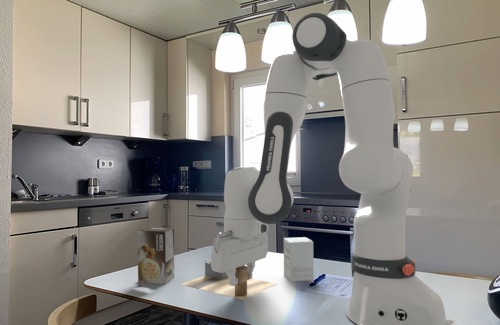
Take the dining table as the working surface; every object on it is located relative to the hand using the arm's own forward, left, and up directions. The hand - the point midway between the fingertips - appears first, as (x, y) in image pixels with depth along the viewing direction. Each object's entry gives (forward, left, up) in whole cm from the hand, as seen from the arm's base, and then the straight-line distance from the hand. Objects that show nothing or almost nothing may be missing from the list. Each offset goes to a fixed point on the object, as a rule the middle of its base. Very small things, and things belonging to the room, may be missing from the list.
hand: (241, 282), depth 97 cm
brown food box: (+28, +4, -5) cm, 29 cm away
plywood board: (+8, -5, -4) cm, 10 cm away
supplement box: (-5, -22, -5) cm, 23 cm away
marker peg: (0, 0, -3) cm, 3 cm away
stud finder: (+15, -9, -3) cm, 18 cm away
